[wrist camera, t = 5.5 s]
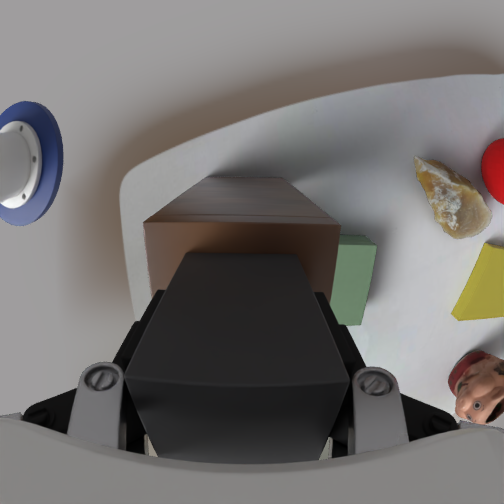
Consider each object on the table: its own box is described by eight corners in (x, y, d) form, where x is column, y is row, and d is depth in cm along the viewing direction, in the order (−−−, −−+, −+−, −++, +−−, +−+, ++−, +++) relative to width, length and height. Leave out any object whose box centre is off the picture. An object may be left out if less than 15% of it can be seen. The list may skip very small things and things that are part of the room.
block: (193, 341, 13) (164, 470, 6) (185, 252, 11) (121, 375, 5) (288, 342, 13) (312, 473, 6) (296, 253, 11) (351, 380, 5)
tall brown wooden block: (207, 240, 31) (162, 357, 13) (206, 176, 29) (142, 222, 11) (280, 241, 31) (319, 359, 14) (283, 177, 29) (341, 224, 11)
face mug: (508, 331, 39) (543, 367, 26) (487, 373, 43) (516, 410, 30) (446, 352, 39) (485, 404, 26) (425, 397, 43) (453, 447, 30)
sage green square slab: (275, 311, 34) (278, 328, 31) (280, 233, 31) (284, 243, 28) (352, 310, 35) (361, 325, 31) (365, 235, 31) (377, 245, 28)
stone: (491, 251, 25) (427, 183, 22) (456, 245, 31) (387, 186, 28) (502, 200, 25) (442, 125, 22) (469, 200, 31) (404, 136, 28)
